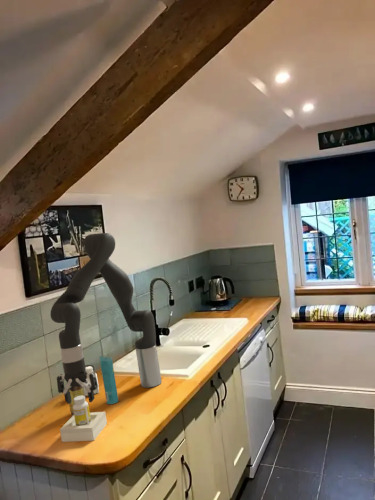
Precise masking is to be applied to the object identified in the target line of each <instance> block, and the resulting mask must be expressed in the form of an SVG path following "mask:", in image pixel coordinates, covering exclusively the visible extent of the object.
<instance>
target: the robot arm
mask: <svg viewBox="0 0 375 500" xmlns="http://www.w3.org/2000/svg"><path fill="white" fill-rule="evenodd" d="M83 248H84V251H85V253H86V254H87V256H88V258H89V261H87V262H86V263H85V264H84V265H83V266H82V267H81V268H80V269H78V270H77V272H76V273H75V274H74V275H73V277H72V278H71V280H70V281H69V283H68V285H67V287H66V289H65V291H64V292H63V293H62V294H61V295H60V296H59V297H58V298H57V300H55V302H54V303H53V304H52V307H51V309H50V319H51V320H52V321H53V322H55V323H57V324H64V329H62V330H60V332H59V333H58V341H59V346H60V357H61V363H62V368H63V373H64V374H62V373H61V374H59V375H58V376H57V377H56V384H57V392H58V393H59V394H60V393H62V394H63V395H64V400H65V403H66V404H67V405H69V404H70V403H71V401H72V400H71V394H70V392H69V390H70V388H71V386H72V387H76V386H77V387H80V386H82V387H83V388H84V389H86V390H87V391H88V396H87V397H88V402H89V403H93V402H94V400H95V394H94V391H93V390H95V389H96V388H97V387H98V385H99V383H98V384H97V379H98V378H97V379H96V375H95V373H96V372H92V373H87V372H86V367H85V365H86V363H85V357H84V350H83V347H82V341H81V337H80V329H81V328H80V327H81V315H82V314H81V310H80V308H79V306H78V304H77V303H81V302H82V301H83V300H84V299H85V296H86V295H87V293H88V291H89V289H90V287H91V285H92V283H93V281H94V280H95V278H96V277H97V275H98V273H100V275H101V277H102V278H103V279H104V281H105V283H106V285H107V287H108V289H109V292H110V293H111V295H112V296H113V298H114V299H115V300H116V301H115V302H116V303H117V305H118V307H119V309H120V311H121V313H122V316H123V318H124V320H125V322H126V325H127V327H128V328H129V330H130V331H131V332H135V333H137V332H139V333H141V332H142V337H141V338H138V339H136V340H135V341H134V348H135V354H136V360H137V367H138V373H139V379H140V386H141V387H142V388H145V389H146V388H154V387H156V386H159V385H160V384H162V376H161V369H160V361H159V355H158V349H157V343H156V341H157V334H156V323H155V318H154V317H155V316H154V314H153V312H152V311H151V310H146V309H145V310H136V308H135V307H134V305H133V303H132V302H133V301H132V300H133V297H134V286H133V283H132V282H131V280H130V278H129V275H127V273H126V272H125V271H124V270H123V269H122V268H120V267H119V266H118V265H117V264H115V263H114V262H113V261H112V260H111V259H110V258H111V257H112V255H113V253H114V251H115V248H116V239H115V237H114V236H113V235H112V234H111V233H108V232H100V233H99V232H98V233H90V234H88V235H86V236H85V237H84V240H83ZM87 377H88V378H89V379H90V382H91V384H90V382H89V381H88V380H87ZM64 381H65V382H66V384H67V385H65V383H64ZM67 382H68V383H67ZM84 383H85V384H84Z"/></svg>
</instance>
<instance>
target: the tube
mask: <svg viewBox="0 0 375 500" xmlns="http://www.w3.org/2000/svg"><path fill="white" fill-rule="evenodd" d="M99 364H100V370H101V375H102V382H103V387H104V395H105V399H106V400H105V401H106V404H107V405H115V404H116V403H118V402H119V394H118V389H117V384H116V383H117V382H116V375H115V370H114V363H113V357H111V356H109V357H108V356H99Z"/></svg>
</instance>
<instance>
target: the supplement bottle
mask: <svg viewBox="0 0 375 500" xmlns="http://www.w3.org/2000/svg"><path fill="white" fill-rule="evenodd" d="M88 402H89V401H86V396H83V395H82V396H77V397H75V398H74V403H75V404H74V405H73V411H74V417H75V423H76V426H84V425H89V424H90V423H91V417H90V413H91V411H90V406H89V403H88Z"/></svg>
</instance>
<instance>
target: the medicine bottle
mask: <svg viewBox="0 0 375 500" xmlns="http://www.w3.org/2000/svg"><path fill="white" fill-rule="evenodd" d="M85 367H86V372H87V373H92V372H95V366H94V365H93V364H85ZM95 375H96V379H97V384H98V387H97V388H96V389H95V390H93V391H94V395H96V393H97V394H100V388H99V386H100V385H99V380H98V375H97V373H96V372H95ZM87 380H88V381H89V382H90V379H89V378H88V377H87ZM84 384H85V383H84ZM90 384H91V382H90ZM83 391H84V396H85V397H88V391H87V390H86V389H84V388H83Z"/></svg>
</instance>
